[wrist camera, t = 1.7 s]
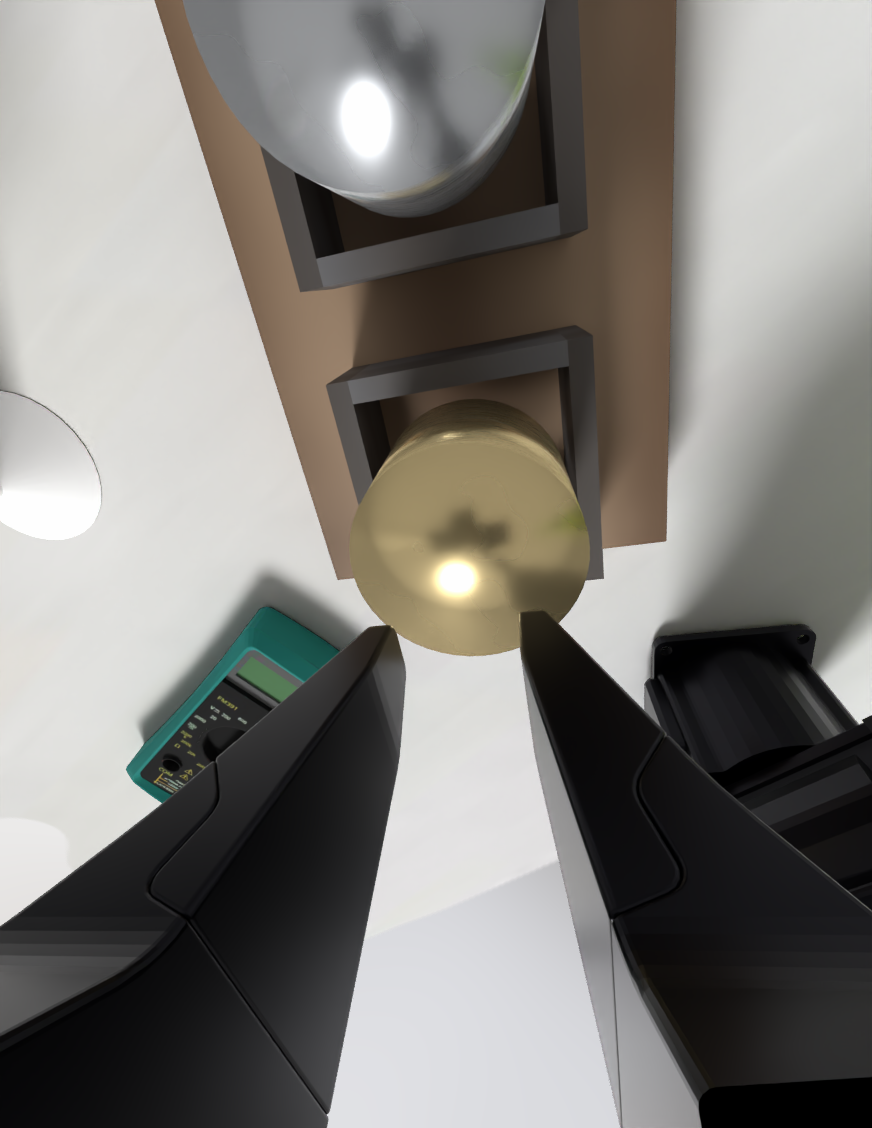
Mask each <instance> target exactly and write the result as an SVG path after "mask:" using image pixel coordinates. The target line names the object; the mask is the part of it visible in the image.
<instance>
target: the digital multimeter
mask: <svg viewBox="0 0 872 1128" xmlns="http://www.w3.org/2000/svg"><path fill="white" fill-rule="evenodd" d="M339 652H340V651H338V650H337V649H336V648H334V647H333V646H331V645H330V644H328V643H327V642H326V641H324V640H323V639H321V638H320V637H319V636H317V635H315V634H314V633H312V632H311V631H309V630H308V629H306V628H304V627H303V626H301V625H300V624H298V623H296V622H295V621H293V620H291V619H290V618H288V617H286V616H285V615H283V614H281V613H279V612H278V611H276V610H274V609H272V608H270V607H263V608H261V609H259V611H258V612H257V613H256V614H255V616H254V617H253V618H252V620H251V621H250V622H249V624H248V625H247V626H246V628H245V629H244V630H243V632H242V633H241V634H240V635H239V637H238V638H237V639H236V641H235V642H234V643H233V645H232V646H231V647H230V649H229V650H228V651H227V653H226V654H225V655H224V656H223V658H222V659H221V660H220V661H219V663H218V664H217V665H216V666H215V667H214V669H213V670H212V671H211V672H210V673H209V675H208V676H207V677H206V678H205V679H204V681H203V682H202V683H201V684H200V685H199V687H198V688H197V689H196V690H195V691H194V693H193V694H192V695H191V696H190V697H189V698H188V699H187V700H186V701H185V702H184V703H183V705H182V706H181V707H180V708H179V709H178V710H177V711H176V712H175V713H174V714H173V715H172V716H171V717H170V718H169V719H168V721H167V722H166V723H165V724H164V725H163V726H162V727H161V728H160V729H159V730H158V731H157V732H156V733H155V734H154V735H153V736H152V737H151V738H150V739H149V740H148V741H147V742H146V743H145V744H144V745H143V746H142V748H141V749H140V750H139V752H138V753H137V754H136V756H135V757H134V758H133V760H132V761H131V762H130V764H129V765H128V766H127V768H126V771H127V773H128V774H129V776H130V777H131V779H132V780H133V782H134V783H135V784H137V785H138V786H139V787H140V788H142V789H143V790H144V791H146V792H147V793H148V794H149V795H151V796H152V797H154V798H155V799H157V800H158V801H160V802H161V803H163V802H165V801H166V800H167V799H168V798H169V797H171V796H172V795H173V794H174V793H175V792H177V791H178V790H179V789H180V788H181V787H183V786H184V785H185V784H186V783H187V782H189V781H190V780H191V779H192V778H193V777H195V776H196V775H197V774H198V773H199V772H200V771H202V770H203V769H204V768H205V767H206V766H207V765H209V764H210V763H211V762H216V758H217V757H218V756H219V755H220V754H221V753H223V752H224V751H225V750H226V749H227V748H228V747H230V746H231V745H232V744H233V743H234V742H235V741H237V740H238V739H239V738H240V737H241V736H242V735H244V734H245V733H246V732H247V731H248V730H249V729H251V728H252V727H253V726H254V725H255V724H256V723H258V722H259V721H260V720H261V719H262V718H263V717H265V716H266V715H267V714H268V713H269V712H270V711H272V710H273V709H274V708H275V707H276V706H277V705H279V704H280V703H281V702H282V701H283V700H284V699H286V698H287V697H288V696H289V695H290V694H291V693H293V692H294V691H295V690H296V689H297V688H298V687H300V686H301V685H302V684H303V683H304V682H305V681H307V680H308V679H309V678H310V677H311V676H312V675H313V674H315V673H316V672H317V671H318V670H319V669H320V668H322V667H323V666H324V665H325V664H326V663H327V662H329V661H330V660H331V659H332V658H333V657H334V656H336V655H337V654H338V653H339ZM218 684H219V685H218ZM217 685H218V686H217ZM209 694H210V695H209ZM201 703H202V704H201ZM193 712H194V713H193ZM185 721H186V722H185ZM206 729H207V730H206ZM199 737H200V738H199ZM168 740H169V741H168ZM167 741H168V742H167ZM160 749H161V750H160ZM159 750H160V751H159ZM158 751H159V752H158Z"/></svg>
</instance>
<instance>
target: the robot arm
mask: <svg viewBox="0 0 872 1128" xmlns="http://www.w3.org/2000/svg"><path fill="white" fill-rule="evenodd" d="M519 633H520V652H521V660H522V667H523V674H524V681H525V689H526V696H527V703H528V710H529V717H530V724H531V732H532V739H533V746H534V753H535V758H536V763H537V768H538V772H539V776H540V781H541V785H542V789H543V794H544V798H545V802H546V807H547V811H548V815H549V820H550V824H551V828H552V833H553V837H554V841H555V846H556V850H557V854H558V859H559V863H560V867H561V872H562V876H563V880H564V885H565V889H566V893H567V898H568V902H569V906H570V910H571V915H572V919H573V924H574V928H575V932H576V937H577V941H578V945H579V949H580V954H581V959H582V963H583V967H584V971H585V976H586V980H587V985H588V989H589V993H590V997H591V1002H592V1006H593V1010H594V1015H595V1019H596V1024H597V1028H598V1032H599V1037H600V1041H601V1045H602V1050H603V1054H604V1058H605V1063H606V1067H607V1071H608V1075H609V1080H610V1084H611V1089H612V1093H613V1097H614V1102H615V1106H616V1110H617V1114H618V1119H619V1123H620V1127H621V1128H872V715H871V716H869V717H867V718H865V719H863V720H862V721H863V722H864V723H862V724H860V725H859V724H858V722H857V721H856V720H855V719H854V718H853V716H852V715H851V714H850V713H849V711H848V710H847V709H846V708H845V706H844V705H843V704H842V703H841V702H840V700H839V699H838V698H837V697H836V695H835V694H834V693H833V692H832V690H831V689H830V688H829V687H828V686H827V684H826V683H825V682H824V681H823V679H822V678H821V677H820V676H819V674H818V673H817V672H816V671H815V670H814V668H813V667H812V666H811V663H812V658H813V652H814V647H815V641H816V635H815V633H814V632H813V631H812V630H811V629H810V628H809V626H806V625H802V624H798V625H787V626H776V627H764V628H753V629H742V630H730V631H719V632H708V633H696V634H685V635H674V636H663V637H659V638H658V639H656V640H655V641H654V642H653V644H652V679H648V680H647V681H646V682H645V684H644V710H643V709H642V708H641V707H640V706H639V705H638V704H637V703H636V702H635V701H634V700H633V699H632V698H631V697H630V696H629V695H628V694H627V692H626V691H625V690H624V689H623V688H622V687H621V686H620V685H619V684H618V683H617V682H616V681H615V680H614V679H613V678H612V677H611V676H610V675H609V674H608V673H607V672H606V671H605V670H604V669H603V668H602V667H601V666H600V665H599V664H598V663H597V662H596V661H595V660H594V659H593V658H592V657H591V656H590V655H589V654H588V653H587V652H586V651H585V650H584V649H583V648H582V647H581V646H580V645H579V644H578V643H577V642H576V641H575V640H574V639H573V638H572V637H571V636H570V635H569V634H568V633H567V632H566V631H565V630H564V629H563V628H562V627H561V626H560V625H559V624H558V623H557V622H556V621H555V620H554V619H553V618H552V617H551V616H550V615H549V614H548V613H547V612H546V611H545V610H533V611H523V612H521V613H520V614H519ZM800 635H804V636H803V637H801V638H798V637H799V636H800ZM797 638H798V639H797ZM665 646H668V647H669V648H667V649H665V650H661V649H662V648H663V647H665ZM405 682H406V670H405V663H404V659H403V656H402V652H401V648H400V645H399V641H398V637H397V634H396V631H395V629H394V627H393V626H391V625H383V626H373V627H369V628H367V629H366V630H365V631H364V632H362V633H361V634H360V635H359V636H358V637H357V638H355V639H354V640H353V641H352V642H351V643H350V644H348V645H347V646H346V647H345V648H344V649H343V650H341V651H340V652H339V653H338V654H337V655H336V656H334V657H333V658H332V659H331V660H330V661H329V662H327V663H326V664H325V665H324V666H323V667H322V668H320V669H319V670H318V671H317V672H316V673H315V674H313V675H312V676H311V677H310V678H309V679H308V680H307V681H305V682H304V683H303V684H302V685H301V686H300V687H298V688H297V689H296V690H295V691H294V692H293V693H291V694H290V695H289V696H288V697H287V698H286V699H284V700H283V701H282V702H281V703H280V704H279V705H277V706H276V707H275V708H274V709H273V710H272V711H270V712H269V713H268V714H267V715H266V716H265V717H263V718H262V719H261V720H260V721H259V722H258V723H256V724H255V725H254V726H253V727H252V728H251V729H249V730H248V731H247V732H246V733H245V734H244V735H242V736H241V737H240V738H239V739H238V740H237V741H235V742H234V743H233V744H232V745H231V746H230V747H228V748H227V749H226V750H225V751H224V752H223V753H221V754H220V755H219V756H218V757H217V758H216V762H211V763H210V764H209V765H207V766H206V767H205V768H204V769H203V770H202V771H200V772H199V773H198V774H197V775H196V776H195V777H193V778H192V779H191V780H190V781H189V782H187V783H186V784H185V785H184V786H183V787H181V788H180V789H179V790H178V791H177V792H175V793H174V794H173V795H172V796H171V797H169V798H168V799H167V800H166V801H165V802H163V803H162V804H161V805H160V806H159V807H157V808H156V809H155V810H154V811H152V812H151V813H150V814H148V815H147V816H146V817H144V818H143V819H142V820H141V821H139V822H138V823H137V824H135V825H134V826H133V827H132V828H130V829H129V830H128V831H126V832H125V833H124V834H123V835H121V836H120V837H119V838H117V839H116V840H115V841H113V842H112V843H111V844H109V845H108V846H107V847H105V848H104V849H103V850H101V851H100V852H99V853H97V854H96V855H95V856H94V857H92V858H91V859H90V860H88V861H87V862H86V863H84V864H83V865H82V866H80V867H79V868H78V869H76V870H75V871H74V872H72V873H71V874H70V875H68V876H67V877H66V878H64V879H63V880H62V881H60V882H59V883H58V884H56V885H55V886H54V887H52V888H51V889H50V890H48V891H47V892H46V893H44V894H43V895H42V896H40V897H39V898H38V899H37V900H35V901H34V902H33V903H31V904H30V905H29V906H27V907H26V908H25V909H24V910H22V911H21V912H19V913H18V914H17V915H15V916H14V917H13V918H11V919H10V920H8V921H7V922H6V923H4V924H3V925H1V926H0V1128H327V1124H328V1116H327V1115H326V1114H328V1113H329V1111H330V1107H331V1102H332V1097H333V1092H334V1087H335V1082H336V1077H337V1072H338V1067H339V1062H340V1057H341V1052H342V1047H343V1042H344V1037H345V1032H346V1027H347V1022H348V1017H349V1011H350V1007H351V1002H352V996H353V991H354V987H355V981H356V977H357V971H358V966H359V961H360V956H361V951H362V946H363V941H364V936H365V931H366V926H367V921H368V916H369V911H370V906H371V901H372V896H373V891H374V886H375V881H376V876H377V871H378V866H379V861H380V856H381V851H382V846H383V841H384V836H385V831H386V826H387V821H388V816H389V811H390V805H391V800H392V795H393V790H394V785H395V780H396V775H397V770H398V764H399V757H400V747H401V734H402V721H403V708H404V695H405Z"/></svg>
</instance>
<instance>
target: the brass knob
mask: <svg viewBox="0 0 872 1128" xmlns="http://www.w3.org/2000/svg"><path fill="white" fill-rule="evenodd" d="M349 552H350V563H351V567H352V571H353V575H354V578H355V581H356V583H357V586H358V588H359V590H360V592H361V594H362V596H363V598H364V600H365V601H366V602H367V604H368V605H369V607H370V608H371V609H372V611H373V612H374V613H375V614H376V615H377V616H378V617H379V618H380V619H381V620H382V621H383V622H384V623H385V624H386V625H391V626H393V627H394V629H395V631H396V633H398V634H399V635H401V636H402V637H404V638H406V639H408V640H410V641H411V642H413V643H415V644H418V645H420V646H423V647H425V648H428V649H431V650H434V651H438V652H441V653H447V654H452V655H462V656H484V655H492V654H498V653H502V652H506V651H510V650H513V649H516V648H519V647H520V633H519V614H520V613H521V612H523V611H533V610H545V611H546V612H547V613H548V614H549V615H550V616H551V617H552V618H553V619H554V620H555V621H556V622H557V623H559V622H560V621H561V620H562V619H563V618H564V617H565V616H566V614H567V613H568V612H569V611H570V609H571V608H572V607H573V605H574V604H575V602H576V601H577V599H578V597H579V595H580V593H581V591H582V589H583V586H584V583H585V580H586V577H587V573H588V568H589V562H590V543H589V536H588V530H587V527H586V524H585V520H584V517H583V514H582V512H581V509H580V506H579V503H578V501H577V498H576V495H575V493H574V490H573V487H572V484H571V482H570V479H569V476H568V474H567V471H566V468H565V466H564V463H563V460H562V457H561V455H560V453H559V451H558V448H557V446H556V444H555V443H554V441H553V440H552V438H551V437H550V435H549V434H548V433H547V432H546V431H545V429H544V428H543V427H542V426H541V425H540V424H539V423H538V422H536V421H535V420H534V419H533V418H532V417H530V416H529V415H527V414H526V413H524V412H522V411H521V410H519V409H517V408H514V407H512V406H510V405H507V404H504V403H501V402H497V401H492V400H486V399H465V400H457V401H453V402H449V403H445V404H443V405H440V406H438V407H435V408H433V409H431V410H429V411H428V412H426V413H424V414H423V415H421V416H420V417H419V418H417V419H416V420H415V421H413V422H412V423H411V424H410V425H409V426H408V427H407V428H406V429H405V430H404V432H403V433H402V434H401V436H400V437H399V438H398V439H397V441H396V443H395V445H394V446H393V448H392V450H391V451H390V453H389V455H388V457H387V458H386V460H385V462H384V463H383V465H382V467H381V468H380V470H379V472H378V474H377V475H376V477H375V479H374V480H373V482H372V484H371V486H370V487H369V489H368V491H367V492H366V494H365V496H364V498H363V499H362V501H361V503H360V505H359V507H358V509H357V512H356V514H355V517H354V519H353V523H352V528H351V532H350V543H349Z"/></svg>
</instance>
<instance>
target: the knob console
mask: <svg viewBox="0 0 872 1128" xmlns="http://www.w3.org/2000/svg"><path fill="white" fill-rule="evenodd" d="M155 3H156V6H157V10H158V13H159V16H160V19H161V22H162V25H163V29H164V32H165V35H166V38H167V41H168V44H169V48H170V51H171V54H172V57H173V60H174V63H175V67H176V70H177V73H178V76H179V79H180V82H181V86H182V89H183V92H184V95H185V98H186V101H187V105H188V108H189V111H190V114H191V117H192V120H193V124H194V127H195V130H196V133H197V136H198V139H199V142H200V146H201V149H202V152H203V155H204V158H205V161H206V165H207V168H208V171H209V174H210V177H211V180H212V184H213V187H214V190H215V193H216V196H217V199H218V203H219V206H220V209H221V212H222V215H223V218H224V222H225V225H226V228H227V231H228V234H229V237H230V241H231V244H232V247H233V250H234V253H235V256H236V260H237V263H238V266H239V269H240V272H241V275H242V279H243V282H244V285H245V288H246V291H247V294H248V298H249V301H250V304H251V307H252V310H253V313H254V317H255V320H256V323H257V326H258V329H259V332H260V336H261V339H262V342H263V345H264V348H265V351H266V355H267V358H268V361H269V364H270V367H271V370H272V374H273V377H274V380H275V383H276V386H277V389H278V393H279V396H280V399H281V402H282V405H283V408H284V412H285V415H286V418H287V421H288V424H289V427H290V431H291V434H292V437H293V440H294V443H295V446H296V449H297V453H298V456H299V459H300V462H301V465H302V468H303V472H304V475H305V478H306V481H307V484H308V487H309V491H310V494H311V497H312V500H313V503H314V506H315V510H316V513H317V516H318V519H319V522H320V525H321V529H322V532H323V535H324V538H325V541H326V544H327V548H328V551H329V554H330V557H331V560H332V563H333V567H334V570H335V573H336V576H337V579H338V580H341V579H350V578H354V575H353V571H352V567H351V563H350V552H349V543H350V532H351V528H352V523H353V519H354V517H355V514H356V512H357V509H358V507H359V505H360V503H361V501H362V499H363V498H364V496H365V494H366V492H367V491H368V489H369V487H370V486H371V484H372V482H373V480H374V479H375V477H376V475H377V474H378V472H379V470H380V468H381V467H382V465H383V463H384V462H385V460H386V458H387V457H388V455H389V453H390V451H391V450H392V448H393V446H394V445H395V443H396V441H397V439H398V438H399V437H400V436H401V434H402V433H403V432H404V430H405V429H406V428H407V427H408V426H409V425H410V424H411V423H412V422H413V421H415V420H416V419H417V418H419V417H420V416H421V415H423V414H424V413H426V412H428V411H429V410H431V409H433V408H435V407H438V406H440V405H443V404H445V403H449V402H453V401H457V400H465V399H486V400H492V401H497V402H501V403H504V404H507V405H510V406H512V407H514V408H517V409H519V410H521V411H522V412H524V413H526V414H527V415H529V416H530V417H532V418H533V419H534V420H535V421H536V422H538V423H539V424H540V425H541V426H542V427H543V428H544V429H545V431H546V432H547V433H548V434H549V435H550V437H551V438H552V440H553V441H554V443H555V444H556V446H557V448H558V451H559V453H560V455H561V457H562V460H563V463H564V466H565V468H566V471H567V474H568V476H569V479H570V482H571V484H572V487H573V490H574V493H575V495H576V498H577V501H578V503H579V506H580V509H581V512H582V514H583V517H584V520H585V524H586V527H587V530H588V536H589V543H590V562H589V568H588V573H587V577H586V580H595V579H604V573H603V551H602V549H604V548H613V547H621V546H630V545H638V544H647V543H655V542H664V541H666V533H667V478H668V424H669V370H670V316H671V262H672V207H673V153H674V99H675V45H676V0H545V5H544V11H543V16H542V21H541V27H540V32H539V37H538V43H537V48H536V53H535V59H534V64H533V69H532V75H531V80H530V85H529V91H528V96H527V100H526V103H525V107H524V110H523V114H522V117H521V120H520V123H519V125H518V128H517V130H516V133H515V135H514V137H513V139H512V141H511V143H510V145H509V147H508V149H507V151H506V153H505V155H504V156H503V158H502V159H501V160H500V162H499V163H498V165H497V166H496V168H495V169H494V171H493V172H492V173H491V174H490V175H489V176H488V178H487V179H486V180H485V181H484V182H483V183H482V184H481V185H480V186H479V187H478V188H477V189H476V190H474V191H473V192H472V193H471V194H470V195H469V196H467V197H466V198H464V199H463V200H461V201H460V202H458V203H457V204H455V205H453V206H451V207H449V208H447V209H445V210H443V211H440V212H436V213H433V214H430V215H426V216H419V217H394V216H387V215H383V214H380V213H377V212H373V211H370V210H368V209H366V208H364V207H362V206H360V205H358V204H356V203H354V202H352V201H350V200H348V199H346V198H344V197H343V196H341V195H339V194H337V193H335V192H333V191H331V190H329V189H327V188H325V187H323V186H321V185H319V184H317V183H315V182H313V181H311V180H310V179H308V178H306V177H304V176H302V175H300V174H298V173H296V172H295V171H293V170H292V169H290V168H289V167H287V166H286V165H284V164H283V163H281V162H280V161H278V160H277V159H276V158H275V157H273V156H272V155H271V154H270V153H269V152H268V151H267V150H266V149H264V148H263V147H262V146H261V145H260V144H259V143H258V142H257V141H256V140H255V139H254V138H253V137H252V136H251V134H250V133H249V132H248V131H247V130H246V129H245V128H244V127H243V125H242V124H241V123H240V122H239V120H238V119H237V118H236V116H235V115H234V113H233V112H232V111H231V109H230V108H229V106H228V105H227V104H226V102H225V101H224V99H223V97H222V96H221V94H220V92H219V90H218V89H217V87H216V85H215V83H214V82H213V80H212V78H211V76H210V74H209V72H208V70H207V68H206V66H205V63H204V61H203V59H202V57H201V55H200V52H199V50H198V48H197V45H196V42H195V39H194V37H193V34H192V31H191V28H190V25H189V22H188V19H187V16H186V12H185V8H184V4H183V0H155ZM586 580H585V581H586Z"/></svg>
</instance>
